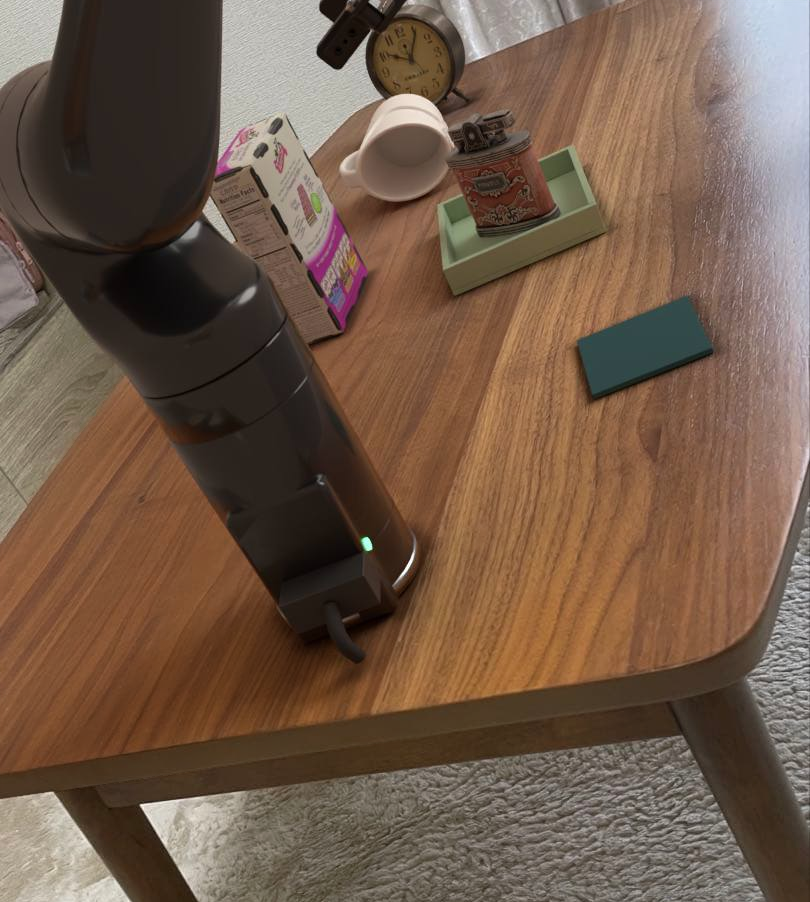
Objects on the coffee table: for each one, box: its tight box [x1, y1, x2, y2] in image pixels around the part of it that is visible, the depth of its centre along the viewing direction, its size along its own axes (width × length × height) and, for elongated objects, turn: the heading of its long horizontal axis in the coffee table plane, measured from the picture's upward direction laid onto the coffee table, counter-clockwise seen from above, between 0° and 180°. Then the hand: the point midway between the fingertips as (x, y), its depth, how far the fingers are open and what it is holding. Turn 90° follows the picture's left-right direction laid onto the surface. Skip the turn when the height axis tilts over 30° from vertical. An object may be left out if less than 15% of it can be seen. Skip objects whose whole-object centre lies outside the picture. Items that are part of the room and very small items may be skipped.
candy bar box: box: [209, 111, 369, 346], centre depth 106 cm, size 11×5×16 cm, turn 168°
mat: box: [576, 295, 715, 400], centre depth 82 cm, size 8×8×1 cm
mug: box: [338, 94, 455, 203], centre depth 126 cm, size 12×9×8 cm
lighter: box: [445, 108, 561, 238], centre depth 104 cm, size 8×3×10 cm, turn 59°
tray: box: [436, 144, 607, 297], centre depth 106 cm, size 15×13×2 cm
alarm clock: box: [364, 0, 471, 107], centre depth 141 cm, size 11×5×16 cm, turn 67°
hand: (327, 38), depth 91 cm, fingers open, 8 cm apart
